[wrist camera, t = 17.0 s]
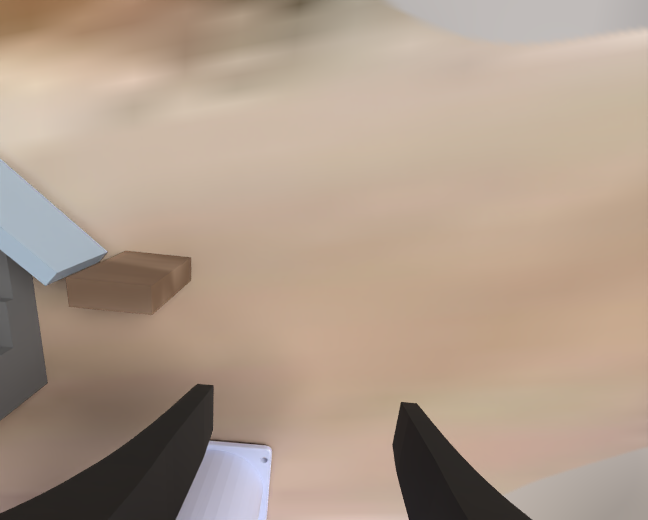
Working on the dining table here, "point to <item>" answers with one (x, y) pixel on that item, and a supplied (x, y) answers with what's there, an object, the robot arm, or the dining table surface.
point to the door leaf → (41, 232)
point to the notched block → (18, 337)
